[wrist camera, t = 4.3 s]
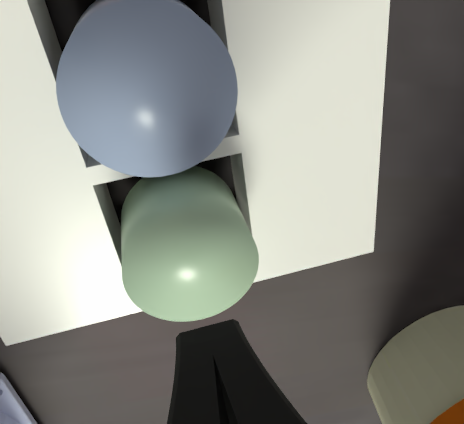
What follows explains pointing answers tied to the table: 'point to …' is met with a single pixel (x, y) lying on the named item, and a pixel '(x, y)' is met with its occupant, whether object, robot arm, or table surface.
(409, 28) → the table surface
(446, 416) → the reusable coffee cup
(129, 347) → the table surface
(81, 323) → the panel
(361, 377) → the table surface
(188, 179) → the sage button
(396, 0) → the table surface
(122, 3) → the slate button
